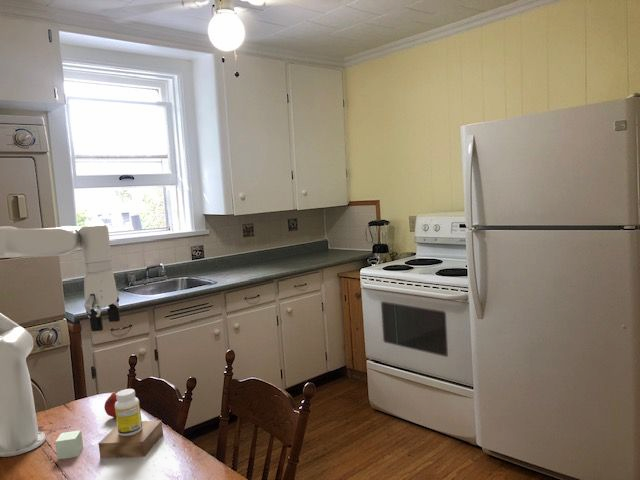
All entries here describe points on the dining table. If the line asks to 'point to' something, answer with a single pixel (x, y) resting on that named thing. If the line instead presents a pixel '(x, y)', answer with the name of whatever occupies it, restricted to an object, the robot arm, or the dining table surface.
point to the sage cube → (69, 444)
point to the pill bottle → (128, 413)
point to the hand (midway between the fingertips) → (106, 325)
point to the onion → (111, 405)
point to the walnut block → (131, 441)
